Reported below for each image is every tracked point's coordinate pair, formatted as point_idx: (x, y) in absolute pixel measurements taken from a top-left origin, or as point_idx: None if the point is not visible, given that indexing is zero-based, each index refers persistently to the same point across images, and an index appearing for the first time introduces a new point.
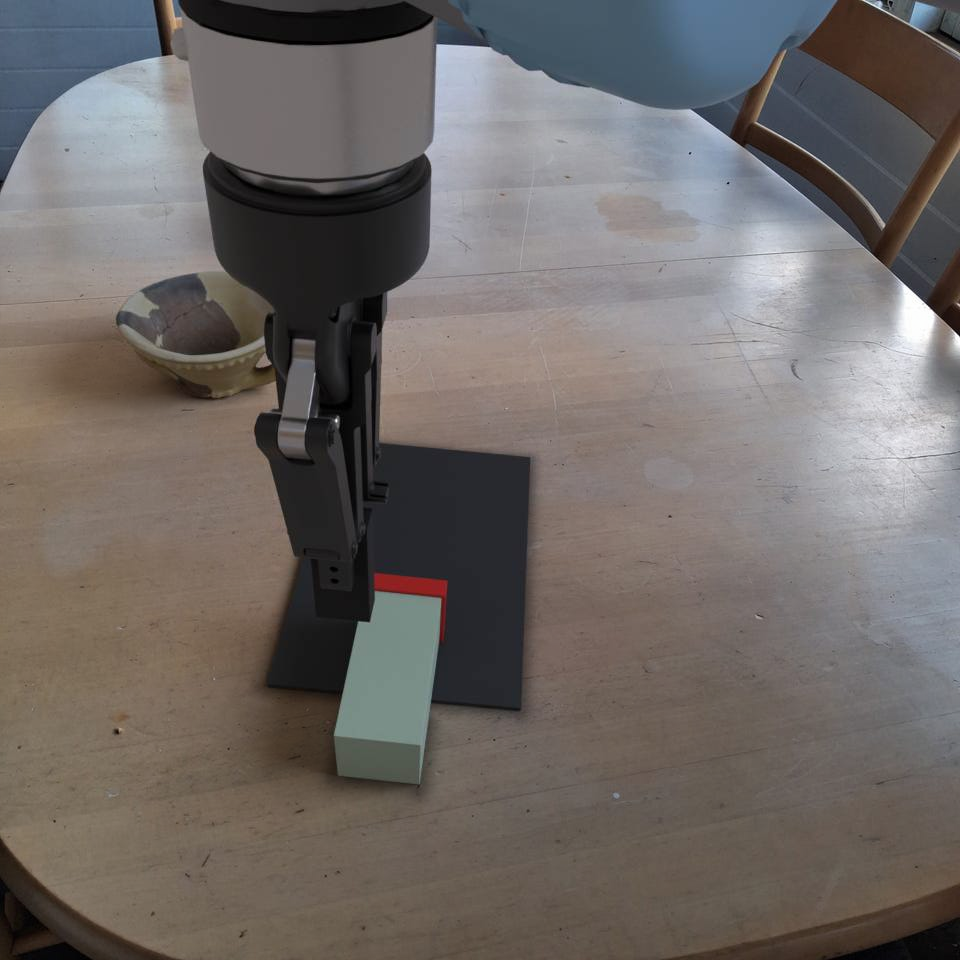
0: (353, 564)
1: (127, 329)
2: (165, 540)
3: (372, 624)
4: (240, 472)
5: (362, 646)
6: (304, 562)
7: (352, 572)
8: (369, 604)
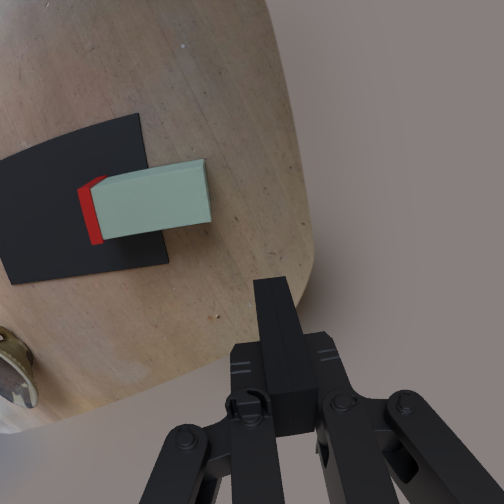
0: (312, 353)
1: (33, 404)
2: (108, 339)
3: (126, 225)
4: (54, 322)
5: (144, 226)
6: (87, 272)
7: (317, 347)
8: (289, 292)
